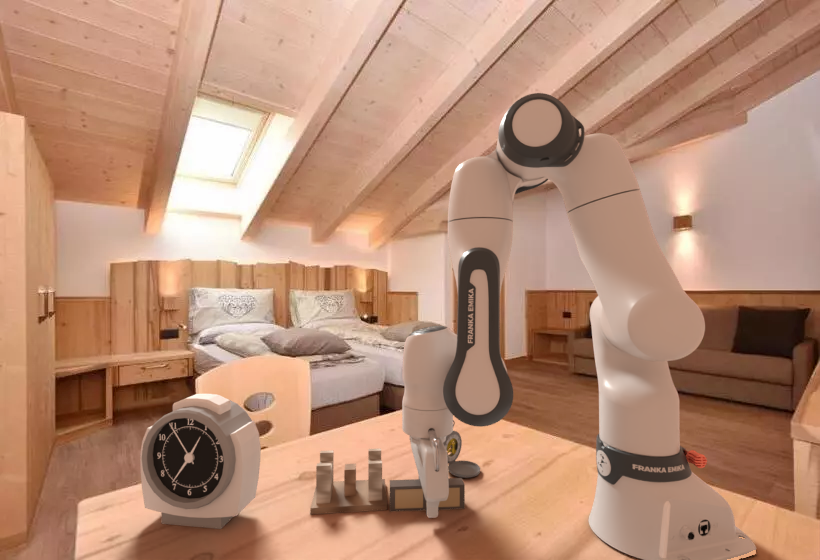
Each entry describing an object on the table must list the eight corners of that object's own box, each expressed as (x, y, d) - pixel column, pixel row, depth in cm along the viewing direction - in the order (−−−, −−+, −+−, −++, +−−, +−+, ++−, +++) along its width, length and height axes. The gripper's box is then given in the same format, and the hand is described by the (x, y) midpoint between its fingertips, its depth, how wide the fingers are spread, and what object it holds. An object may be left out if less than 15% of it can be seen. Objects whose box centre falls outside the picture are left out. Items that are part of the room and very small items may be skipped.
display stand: (384, 484, 78) (384, 445, 78) (387, 509, 69) (387, 466, 69) (317, 487, 77) (317, 448, 77) (310, 514, 68) (310, 469, 68)
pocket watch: (479, 481, 80) (479, 430, 80) (437, 477, 81) (437, 427, 81) (480, 463, 88) (480, 417, 88) (442, 460, 89) (442, 414, 89)
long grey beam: (461, 502, 72) (461, 477, 72) (464, 510, 70) (464, 484, 70) (389, 505, 71) (389, 480, 71) (389, 512, 69) (389, 487, 69)
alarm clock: (132, 527, 64) (134, 400, 65) (171, 499, 73) (172, 387, 73) (237, 537, 62) (238, 405, 62) (264, 506, 70) (265, 391, 70)
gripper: (458, 442, 60) (458, 535, 60) (435, 402, 80) (435, 472, 80) (416, 443, 59) (416, 538, 59) (404, 403, 79) (404, 473, 79)
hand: (427, 499), depth 70 cm, fingers open, 8 cm apart
